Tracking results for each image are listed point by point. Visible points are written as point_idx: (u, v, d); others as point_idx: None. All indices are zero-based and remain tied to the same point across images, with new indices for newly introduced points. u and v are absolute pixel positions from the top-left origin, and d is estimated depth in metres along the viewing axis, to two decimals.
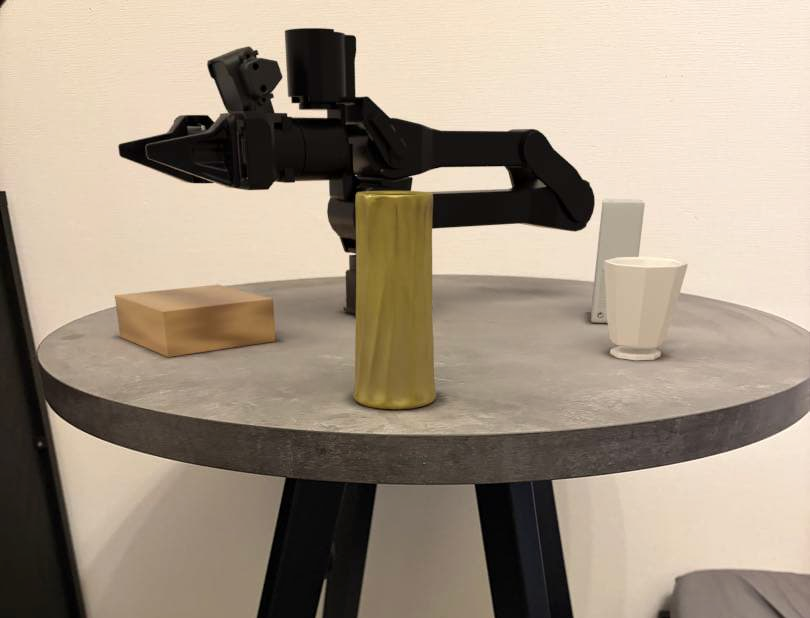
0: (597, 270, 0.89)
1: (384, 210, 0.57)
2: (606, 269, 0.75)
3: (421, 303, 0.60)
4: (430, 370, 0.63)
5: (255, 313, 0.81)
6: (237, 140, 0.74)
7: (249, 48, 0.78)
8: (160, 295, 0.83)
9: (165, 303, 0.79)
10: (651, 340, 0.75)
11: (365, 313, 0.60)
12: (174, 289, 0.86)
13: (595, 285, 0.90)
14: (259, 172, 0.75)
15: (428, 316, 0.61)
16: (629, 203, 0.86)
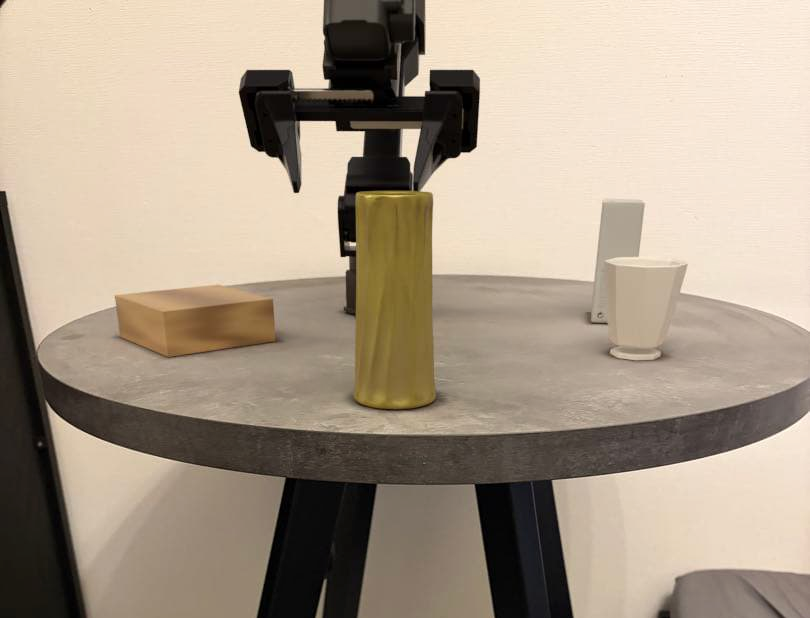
0: (597, 270, 0.89)
1: (384, 210, 0.57)
2: (606, 269, 0.75)
3: (421, 303, 0.60)
4: (430, 370, 0.63)
5: (255, 313, 0.81)
6: None
7: None
8: (160, 295, 0.83)
9: (165, 303, 0.79)
10: (651, 340, 0.75)
11: (365, 313, 0.60)
12: (174, 289, 0.86)
13: (595, 285, 0.90)
14: None
15: (428, 316, 0.61)
16: (629, 203, 0.86)
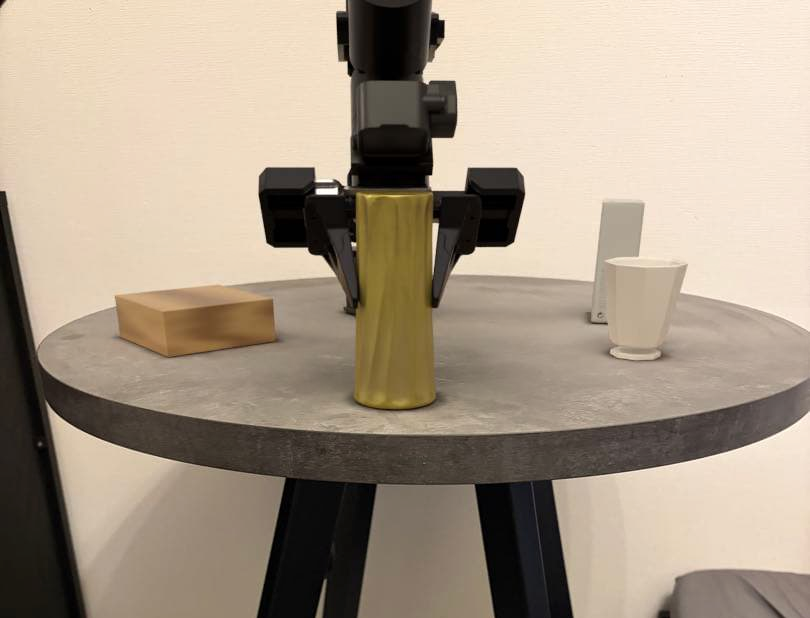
0: (597, 270, 0.89)
1: (384, 210, 0.57)
2: (606, 269, 0.75)
3: (421, 303, 0.60)
4: (430, 370, 0.63)
5: (255, 313, 0.81)
6: None
7: (423, 85, 0.56)
8: (160, 295, 0.83)
9: (165, 303, 0.79)
10: (651, 340, 0.75)
11: (366, 313, 0.60)
12: (174, 289, 0.86)
13: (595, 285, 0.90)
14: None
15: (428, 316, 0.61)
16: (629, 203, 0.86)
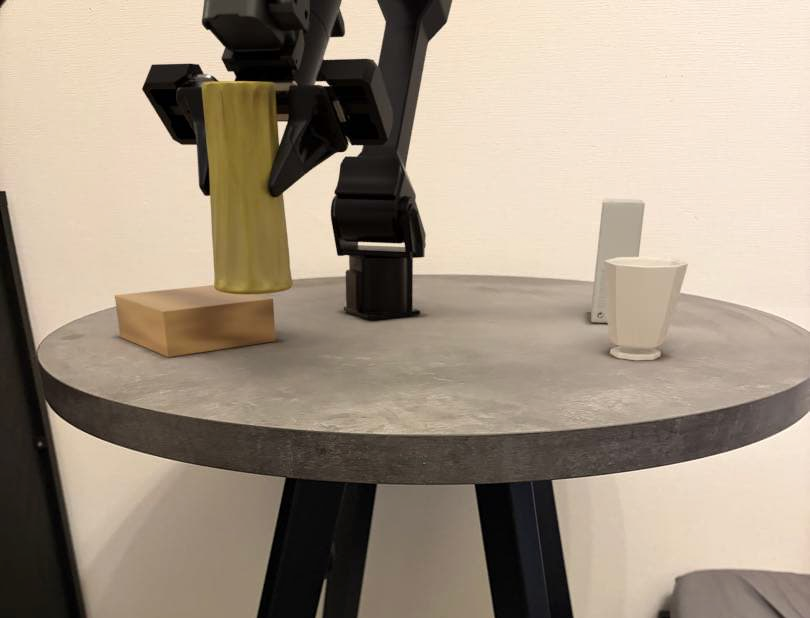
0: (597, 270, 0.89)
1: (214, 97, 0.60)
2: (606, 269, 0.75)
3: (255, 191, 0.63)
4: (274, 259, 0.65)
5: (255, 313, 0.81)
6: (334, 108, 0.63)
7: None
8: (160, 295, 0.83)
9: (165, 303, 0.79)
10: (651, 340, 0.75)
11: (210, 199, 0.64)
12: (174, 289, 0.86)
13: (595, 285, 0.90)
14: (387, 121, 0.65)
15: (267, 204, 0.63)
16: (629, 203, 0.86)
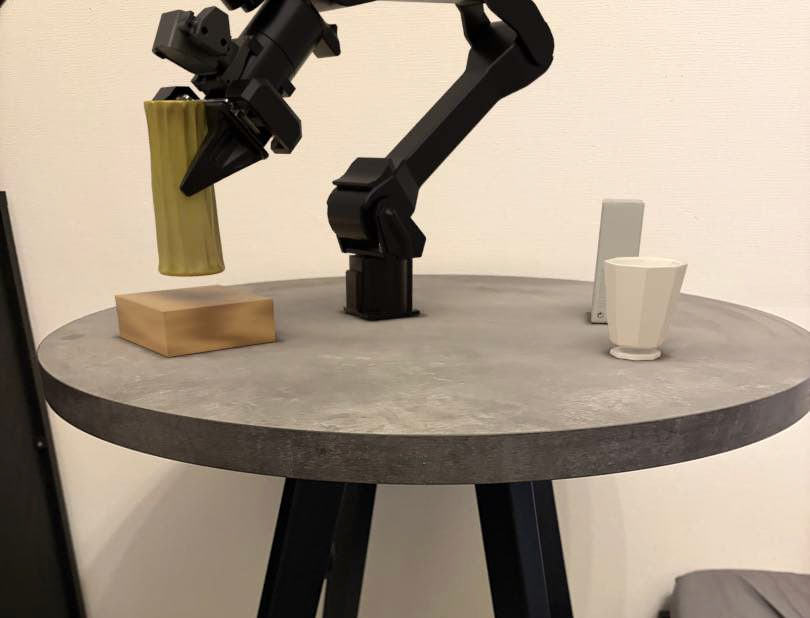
0: (597, 270, 0.89)
1: (146, 114, 0.75)
2: (606, 269, 0.75)
3: (171, 190, 0.76)
4: (189, 248, 0.77)
5: (255, 313, 0.81)
6: (241, 121, 0.73)
7: (181, 12, 0.71)
8: (160, 295, 0.83)
9: (165, 303, 0.79)
10: (651, 340, 0.75)
11: None
12: (174, 289, 0.86)
13: (595, 285, 0.90)
14: (288, 132, 0.73)
15: (182, 202, 0.76)
16: (629, 203, 0.86)
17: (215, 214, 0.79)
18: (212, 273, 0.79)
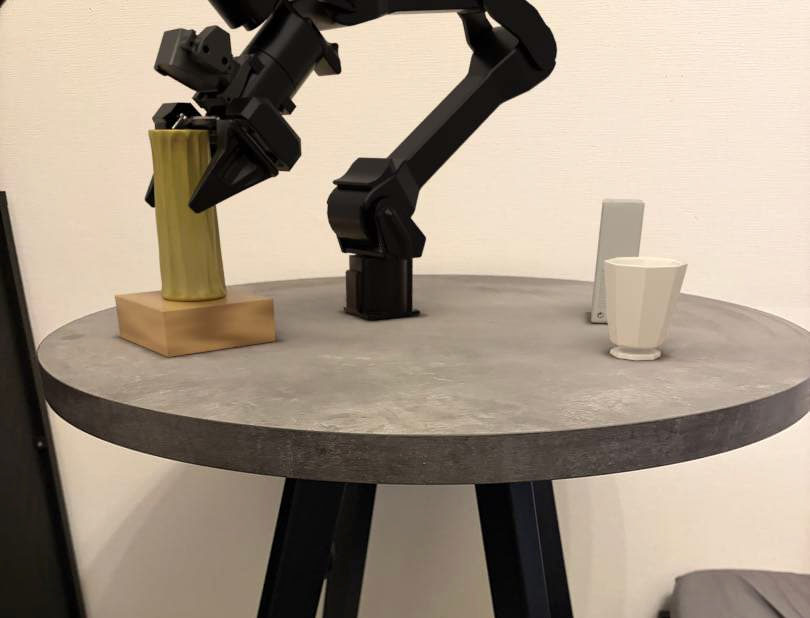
0: (597, 270, 0.89)
1: None
2: (606, 269, 0.75)
3: (174, 217, 0.77)
4: (191, 274, 0.79)
5: (255, 313, 0.81)
6: (251, 139, 0.72)
7: (182, 31, 0.72)
8: (160, 295, 0.83)
9: (165, 303, 0.79)
10: (651, 340, 0.75)
11: None
12: None
13: (595, 285, 0.90)
14: (288, 150, 0.73)
15: (184, 228, 0.77)
16: (629, 203, 0.86)
17: (217, 239, 0.80)
18: (214, 298, 0.80)
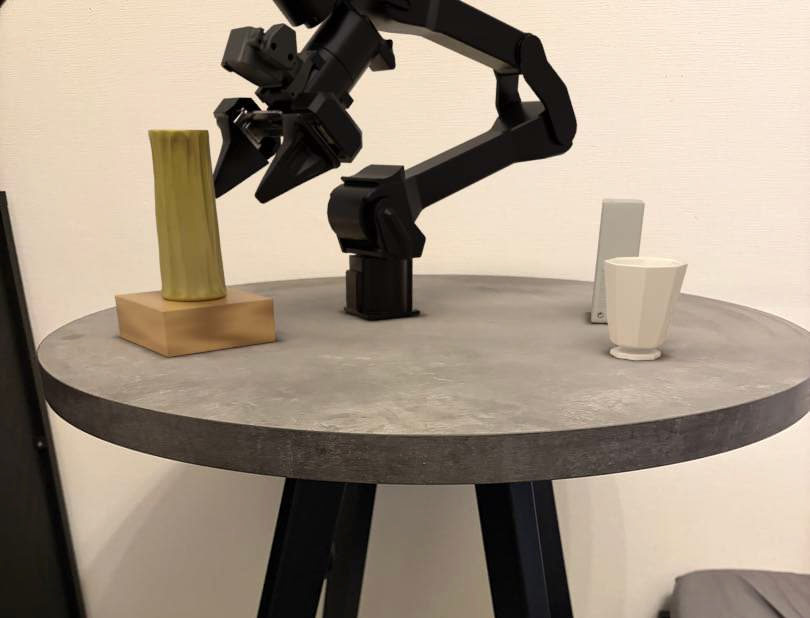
0: (597, 270, 0.89)
1: None
2: (606, 269, 0.75)
3: (174, 217, 0.77)
4: (191, 274, 0.79)
5: (255, 313, 0.81)
6: (316, 132, 0.76)
7: (251, 28, 0.75)
8: (160, 295, 0.83)
9: (165, 303, 0.79)
10: (651, 340, 0.75)
11: None
12: None
13: (595, 285, 0.90)
14: (350, 143, 0.77)
15: (184, 228, 0.77)
16: (629, 203, 0.86)
17: (217, 239, 0.80)
18: (214, 298, 0.80)
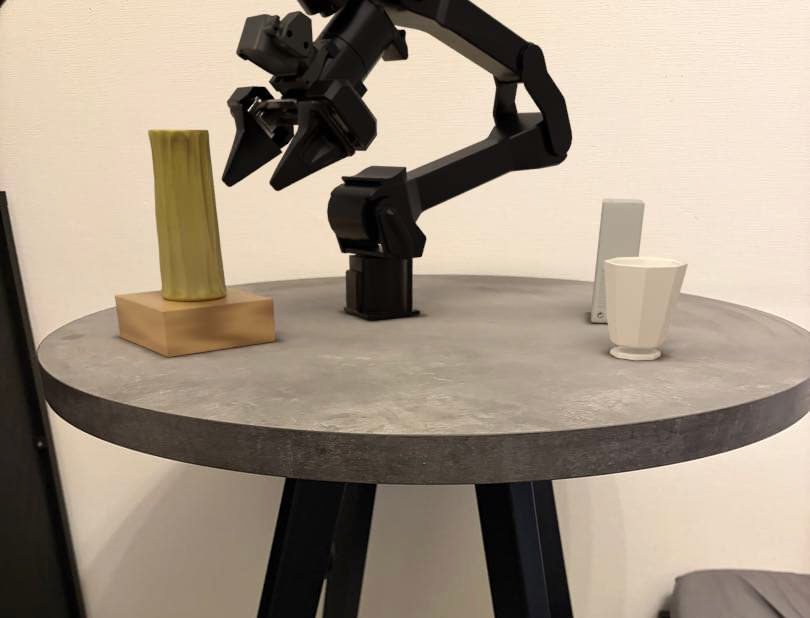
0: (597, 270, 0.89)
1: None
2: (606, 269, 0.75)
3: (174, 217, 0.77)
4: (191, 274, 0.79)
5: (255, 313, 0.81)
6: (331, 119, 0.76)
7: (267, 16, 0.76)
8: (160, 295, 0.83)
9: (165, 303, 0.79)
10: (651, 340, 0.75)
11: None
12: None
13: (595, 285, 0.90)
14: (365, 130, 0.77)
15: (184, 228, 0.77)
16: (629, 203, 0.86)
17: (217, 239, 0.80)
18: (214, 298, 0.80)
